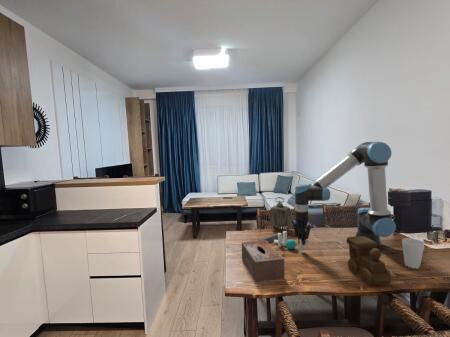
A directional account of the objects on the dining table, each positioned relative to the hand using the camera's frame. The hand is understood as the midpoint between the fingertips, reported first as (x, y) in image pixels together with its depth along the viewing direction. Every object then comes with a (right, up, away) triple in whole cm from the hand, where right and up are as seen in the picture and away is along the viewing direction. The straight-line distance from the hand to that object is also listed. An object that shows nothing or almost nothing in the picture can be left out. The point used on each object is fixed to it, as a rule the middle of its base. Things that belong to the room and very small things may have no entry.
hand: (301, 249), depth 154 cm
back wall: (-16, 0, +20) cm, 25 cm away
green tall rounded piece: (-4, +2, +43) cm, 43 cm away
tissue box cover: (-27, -4, -18) cm, 33 cm away
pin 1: (-11, -1, +10) cm, 15 cm away
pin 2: (-7, -1, +13) cm, 15 cm away
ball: (-5, +2, +5) cm, 7 cm away
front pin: (-8, 0, +9) cm, 12 cm away
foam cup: (+51, -2, -20) cm, 55 cm away
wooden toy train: (+22, -4, -31) cm, 38 cm away
